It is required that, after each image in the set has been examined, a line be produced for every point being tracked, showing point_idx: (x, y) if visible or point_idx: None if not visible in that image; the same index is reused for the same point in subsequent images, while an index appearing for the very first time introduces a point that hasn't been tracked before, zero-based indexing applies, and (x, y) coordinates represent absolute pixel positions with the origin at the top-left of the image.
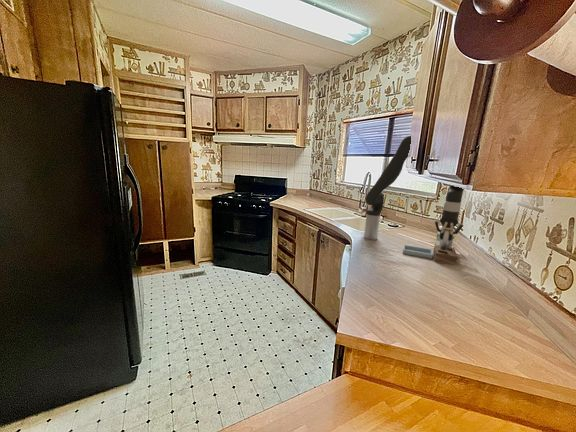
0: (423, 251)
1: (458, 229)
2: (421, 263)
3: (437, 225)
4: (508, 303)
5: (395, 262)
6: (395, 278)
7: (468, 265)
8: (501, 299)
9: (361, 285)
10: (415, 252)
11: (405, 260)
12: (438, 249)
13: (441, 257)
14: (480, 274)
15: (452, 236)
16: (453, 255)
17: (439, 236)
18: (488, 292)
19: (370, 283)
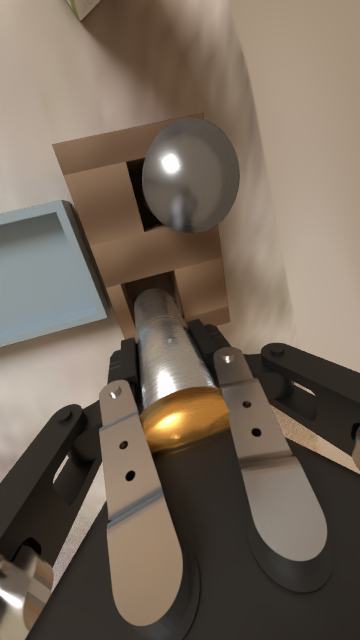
0: (21, 223)
1: (332, 433)
2: (94, 393)
3: (47, 553)
4: (312, 445)
5: (17, 457)
6: (88, 527)
7: (262, 257)
8: (304, 440)
9: (53, 586)
10: (17, 341)
11: (31, 414)
12: (119, 270)
13: None
14: (290, 327)
15: (217, 189)
16: (211, 316)
17: (111, 363)
18: (286, 430)
19: (61, 572)
